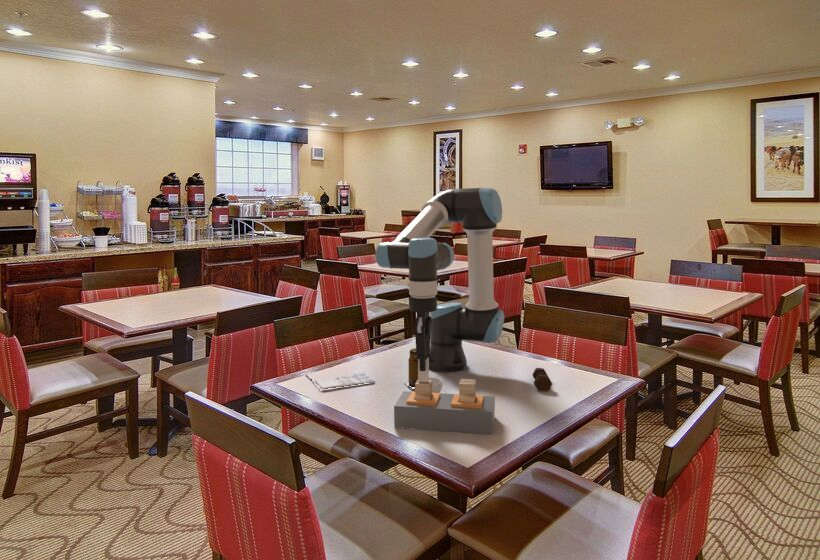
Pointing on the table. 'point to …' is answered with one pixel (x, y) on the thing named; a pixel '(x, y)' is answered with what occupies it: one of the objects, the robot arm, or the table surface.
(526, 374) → the table surface
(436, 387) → the teacup
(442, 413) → the block
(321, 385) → the bicycle print napkin
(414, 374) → the condiment
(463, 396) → the peg
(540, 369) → the hex dumbbell
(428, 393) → the peg
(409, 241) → the robot arm
